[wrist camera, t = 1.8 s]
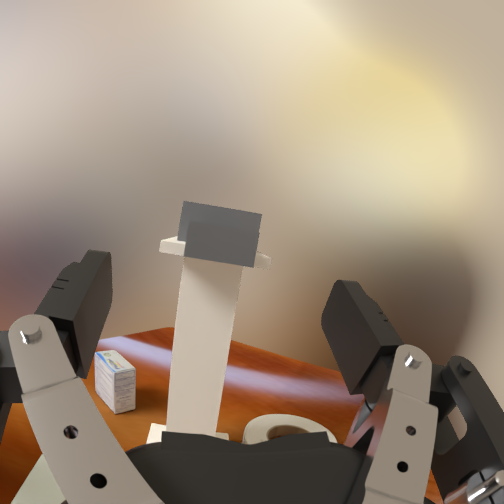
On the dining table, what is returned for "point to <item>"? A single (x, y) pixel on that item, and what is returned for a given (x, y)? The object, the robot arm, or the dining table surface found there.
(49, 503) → the mat
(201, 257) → the gray flanged block
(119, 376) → the medicine box
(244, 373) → the dining table surface
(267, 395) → the dining table surface
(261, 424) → the roll of tape
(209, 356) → the white flanged bar
